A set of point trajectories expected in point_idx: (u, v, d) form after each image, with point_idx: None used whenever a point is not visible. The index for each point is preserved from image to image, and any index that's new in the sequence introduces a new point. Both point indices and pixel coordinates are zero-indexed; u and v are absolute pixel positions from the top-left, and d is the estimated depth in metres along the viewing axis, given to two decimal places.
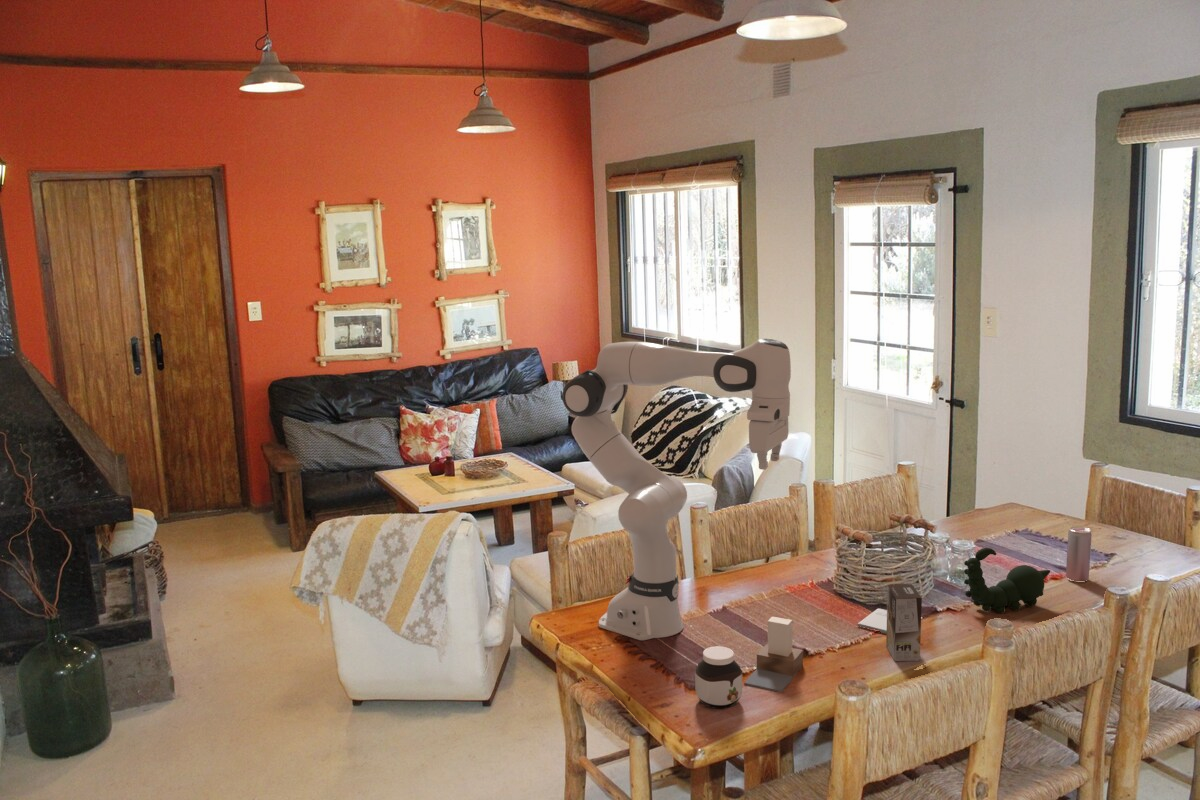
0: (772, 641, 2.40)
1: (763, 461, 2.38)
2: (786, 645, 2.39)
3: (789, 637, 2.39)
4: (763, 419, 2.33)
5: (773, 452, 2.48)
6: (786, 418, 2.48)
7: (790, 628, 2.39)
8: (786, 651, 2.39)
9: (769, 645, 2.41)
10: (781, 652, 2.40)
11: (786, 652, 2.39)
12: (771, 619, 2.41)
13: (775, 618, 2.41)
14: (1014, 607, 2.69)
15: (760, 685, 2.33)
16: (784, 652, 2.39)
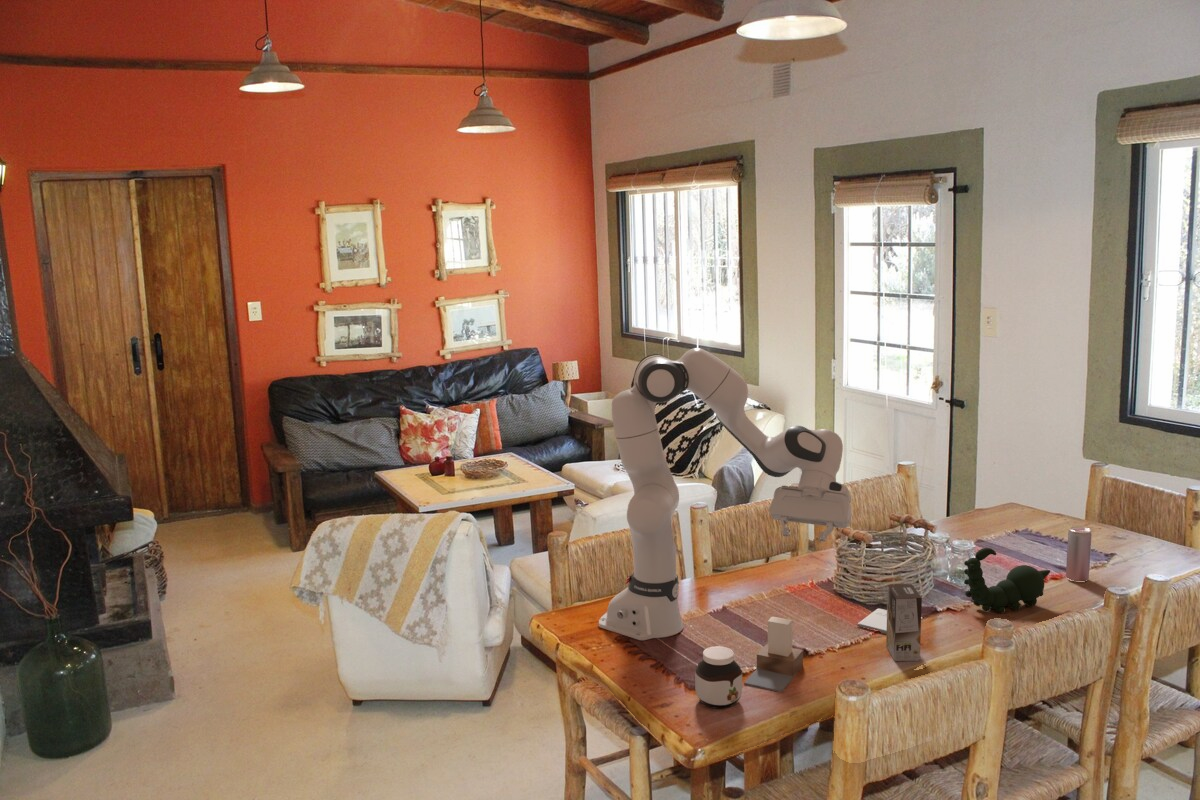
0: (772, 641, 2.40)
1: (827, 533, 2.50)
2: (786, 645, 2.39)
3: (789, 637, 2.39)
4: (849, 499, 2.54)
5: (785, 527, 2.54)
6: None
7: (790, 628, 2.39)
8: (786, 651, 2.39)
9: (769, 645, 2.41)
10: (781, 652, 2.40)
11: (786, 652, 2.39)
12: (771, 619, 2.41)
13: (775, 618, 2.41)
14: (1014, 607, 2.69)
15: (760, 685, 2.33)
16: (784, 652, 2.39)
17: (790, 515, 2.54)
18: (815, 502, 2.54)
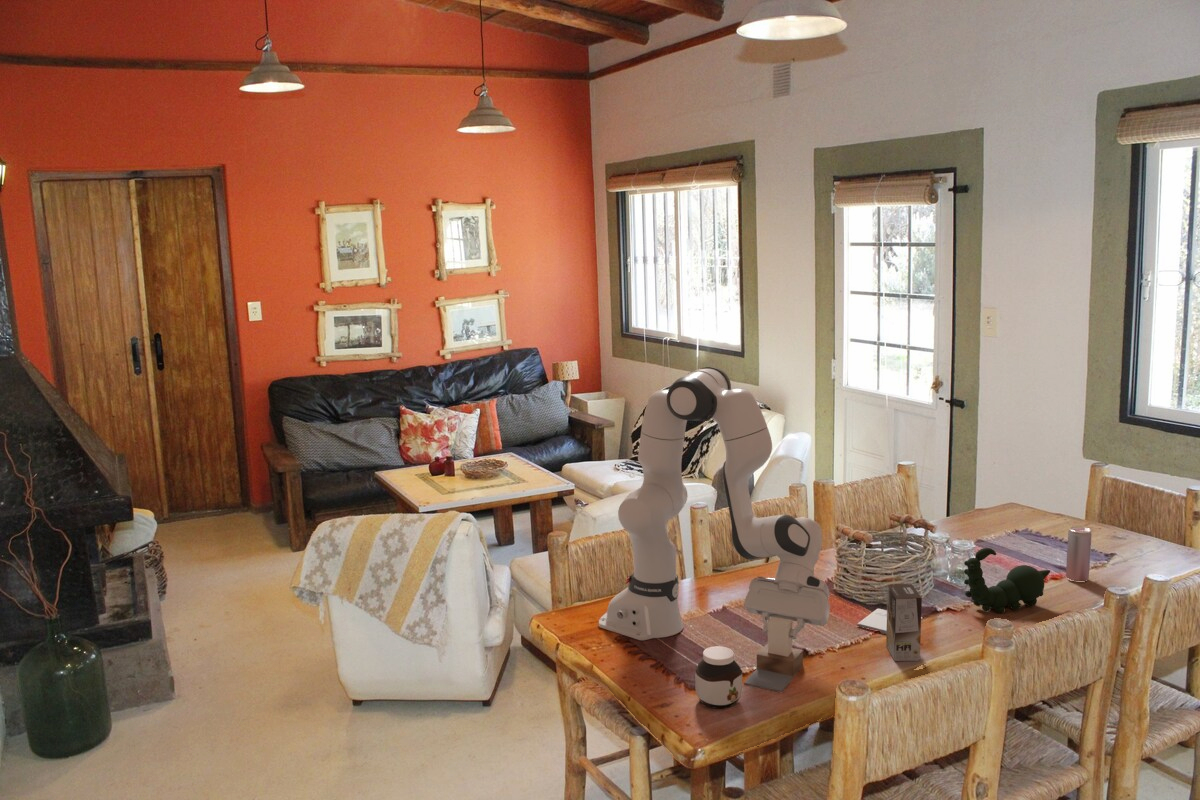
0: (772, 641, 2.40)
1: (798, 630, 2.39)
2: (786, 645, 2.39)
3: (789, 637, 2.39)
4: (827, 594, 2.43)
5: (767, 624, 2.42)
6: None
7: (790, 628, 2.39)
8: (786, 651, 2.39)
9: (769, 645, 2.41)
10: (781, 652, 2.40)
11: (786, 652, 2.39)
12: (771, 619, 2.41)
13: (775, 618, 2.41)
14: (1014, 607, 2.69)
15: (760, 685, 2.33)
16: (784, 652, 2.39)
17: (766, 610, 2.43)
18: (792, 596, 2.43)
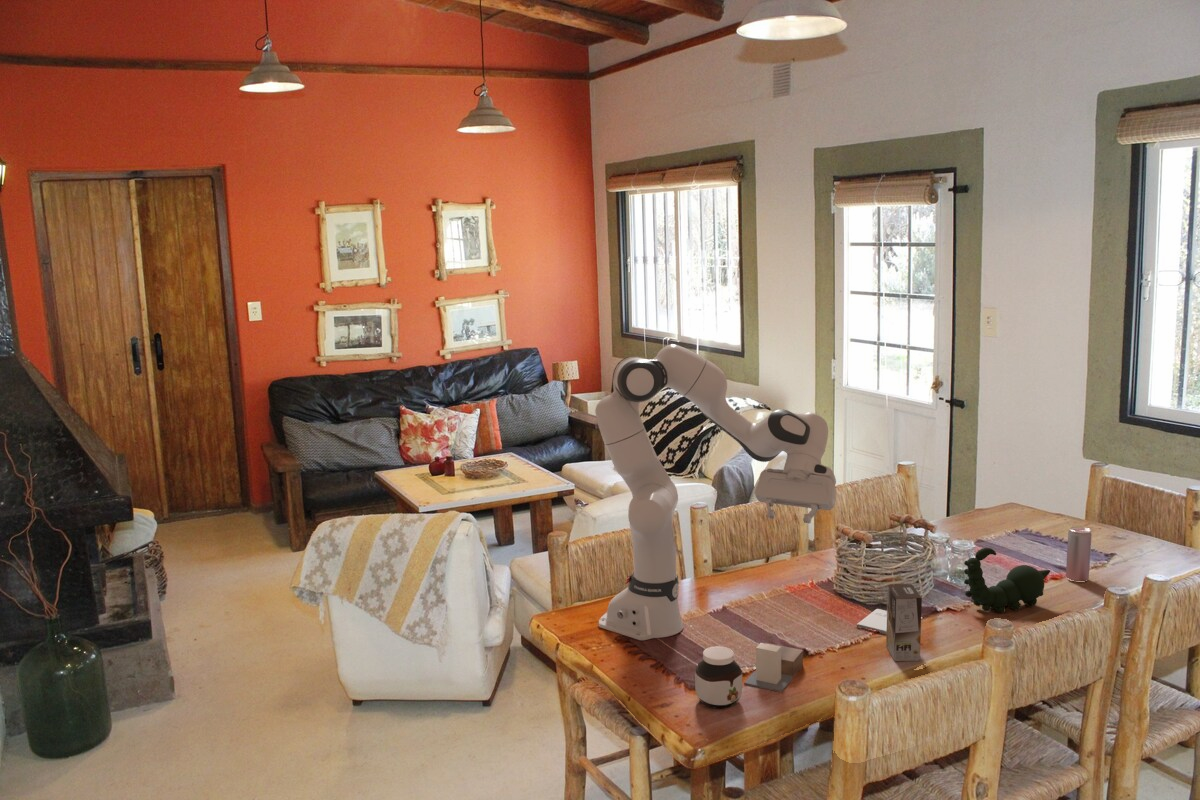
0: (761, 668, 2.35)
1: (812, 515, 2.51)
2: (775, 673, 2.33)
3: (778, 664, 2.33)
4: (834, 481, 2.55)
5: (770, 509, 2.56)
6: None
7: (779, 655, 2.34)
8: (775, 678, 2.33)
9: (757, 672, 2.35)
10: (770, 679, 2.34)
11: (775, 679, 2.33)
12: (759, 645, 2.35)
13: (764, 644, 2.36)
14: (1014, 607, 2.69)
15: (760, 685, 2.33)
16: (773, 679, 2.34)
17: (775, 497, 2.56)
18: (800, 484, 2.55)
